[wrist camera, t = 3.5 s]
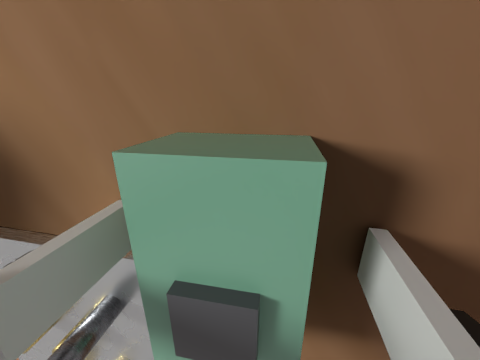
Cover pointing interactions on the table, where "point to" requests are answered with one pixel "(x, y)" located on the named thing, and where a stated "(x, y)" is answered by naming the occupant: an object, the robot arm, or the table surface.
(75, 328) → the chassis
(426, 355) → the robot arm
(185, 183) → the board
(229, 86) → the table surface
